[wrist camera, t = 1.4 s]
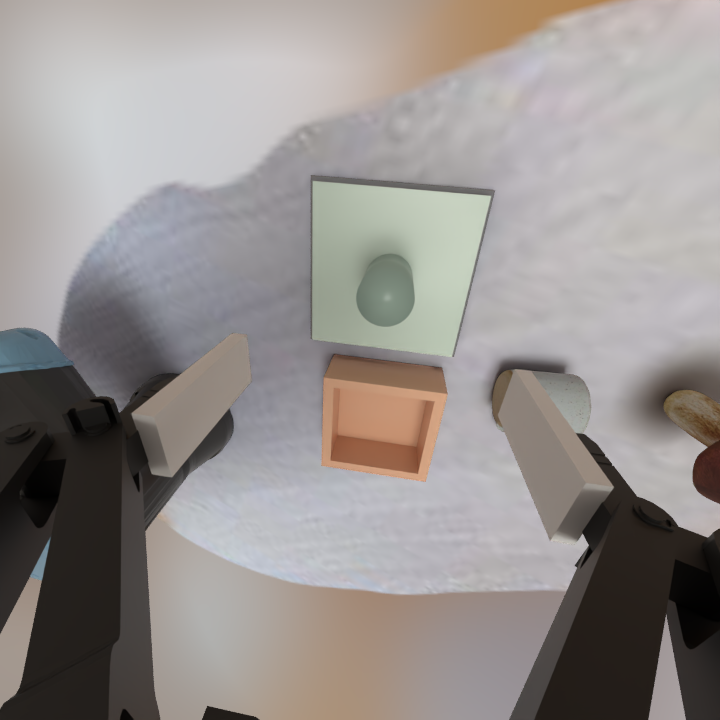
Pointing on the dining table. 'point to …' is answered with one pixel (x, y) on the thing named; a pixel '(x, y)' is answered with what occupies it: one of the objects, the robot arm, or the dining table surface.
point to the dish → (381, 416)
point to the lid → (392, 265)
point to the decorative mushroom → (700, 436)
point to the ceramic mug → (552, 396)
